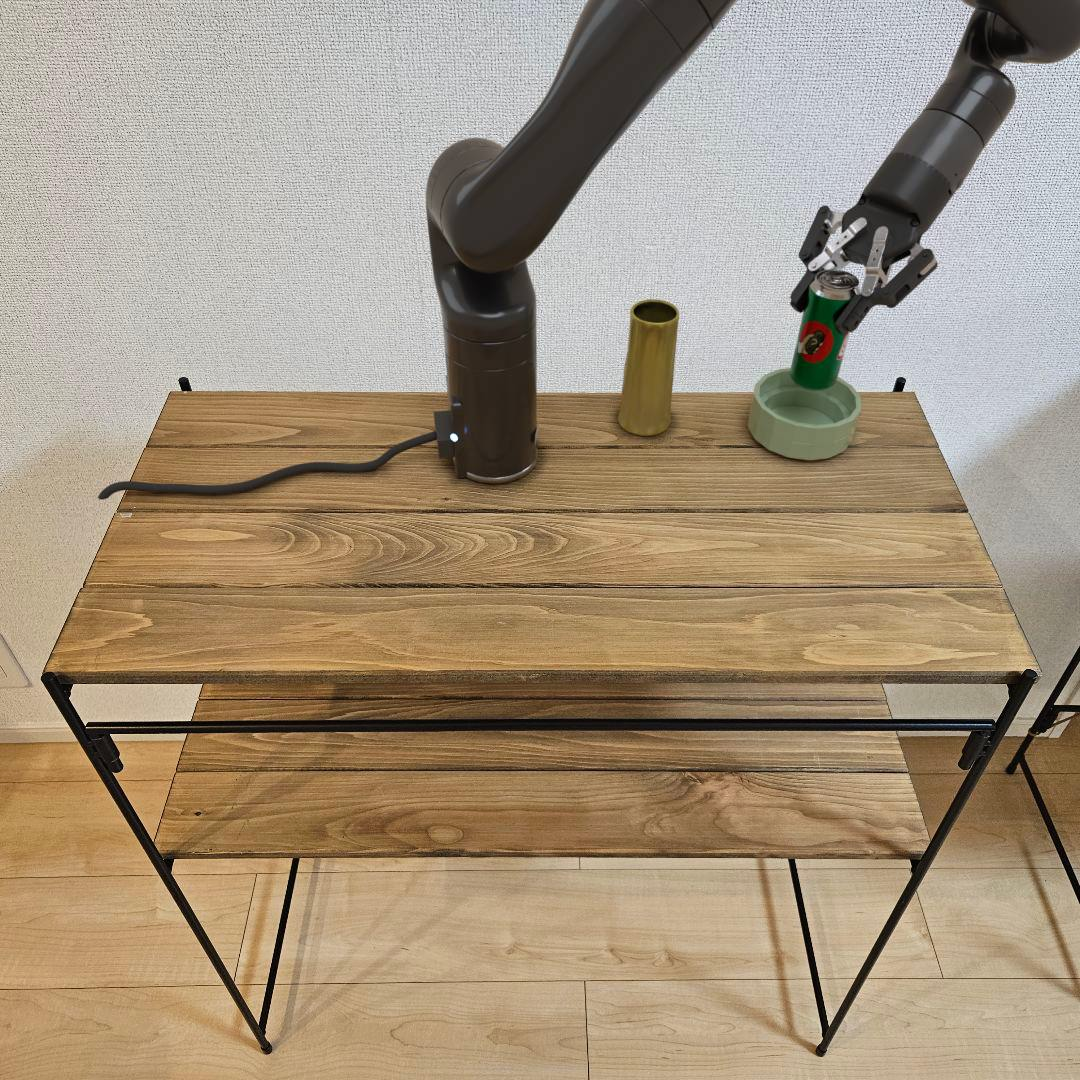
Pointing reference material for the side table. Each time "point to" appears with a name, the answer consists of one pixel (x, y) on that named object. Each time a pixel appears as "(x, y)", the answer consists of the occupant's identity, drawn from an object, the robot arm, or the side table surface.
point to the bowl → (803, 417)
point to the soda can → (822, 330)
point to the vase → (649, 368)
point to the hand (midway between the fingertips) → (817, 319)
